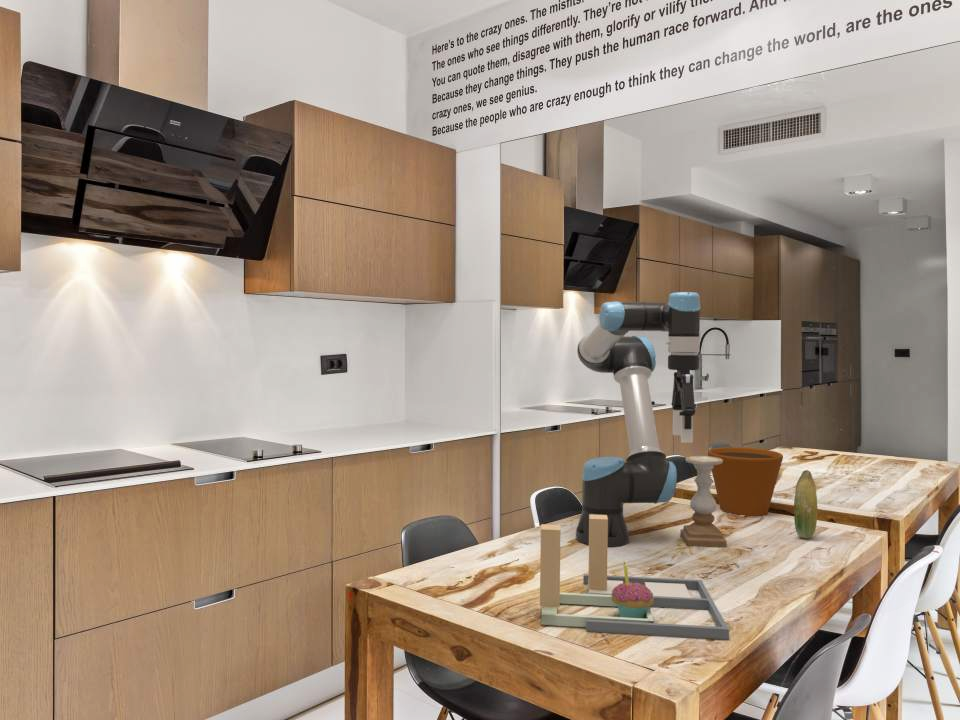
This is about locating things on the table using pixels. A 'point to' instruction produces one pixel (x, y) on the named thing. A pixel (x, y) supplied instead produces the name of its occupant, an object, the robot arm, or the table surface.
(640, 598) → the cupcake
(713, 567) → the table surface
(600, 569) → the broken strip
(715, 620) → the board
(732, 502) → the flower pot
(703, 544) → the candle holder
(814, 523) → the vegetable
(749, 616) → the table surface
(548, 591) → the pale green frame
